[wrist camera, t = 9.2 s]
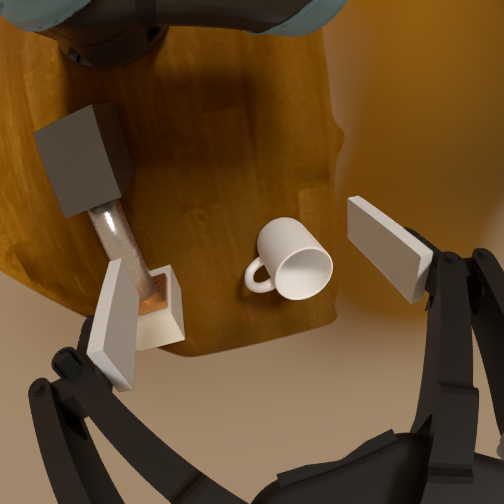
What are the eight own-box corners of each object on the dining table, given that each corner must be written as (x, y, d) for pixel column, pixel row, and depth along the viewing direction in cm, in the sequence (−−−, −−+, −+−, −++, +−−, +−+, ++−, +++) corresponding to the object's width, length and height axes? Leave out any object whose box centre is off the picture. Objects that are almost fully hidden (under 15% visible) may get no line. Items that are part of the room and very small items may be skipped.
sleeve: (68, 122, 31) (33, 133, 22) (114, 102, 32) (91, 104, 22) (90, 187, 36) (65, 218, 27) (135, 170, 37) (121, 196, 28)
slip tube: (78, 183, 32) (61, 200, 26) (123, 165, 32) (113, 179, 27) (135, 305, 42) (132, 335, 37) (174, 294, 43) (176, 323, 37)
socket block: (129, 277, 44) (121, 326, 35) (170, 264, 45) (171, 313, 35) (142, 300, 47) (138, 351, 37) (180, 289, 48) (185, 339, 38)
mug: (250, 281, 50) (266, 322, 42) (225, 246, 46) (238, 285, 37) (311, 245, 50) (340, 279, 41) (292, 206, 45) (321, 235, 37)
